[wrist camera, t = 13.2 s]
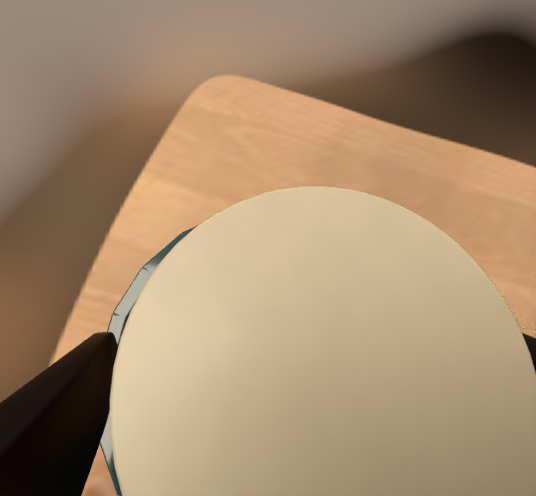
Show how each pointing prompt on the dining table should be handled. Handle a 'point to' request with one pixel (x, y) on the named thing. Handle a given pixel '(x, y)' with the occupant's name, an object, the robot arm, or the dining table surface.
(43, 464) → the robot arm
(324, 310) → the snack tub
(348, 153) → the dining table surface
